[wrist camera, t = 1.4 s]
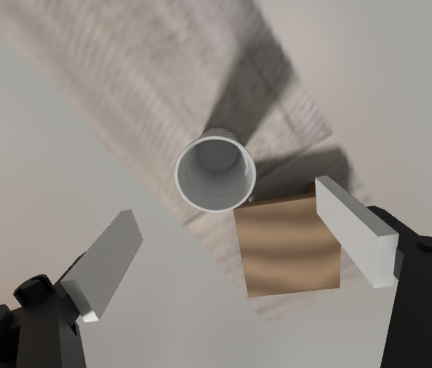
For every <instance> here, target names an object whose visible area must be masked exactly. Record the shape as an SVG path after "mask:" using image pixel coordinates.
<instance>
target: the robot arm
mask: <svg viewBox="0 0 432 368" xmlns="http://www.w3.org/2000/svg"><path fill="white" fill-rule="evenodd" d="M315 184H316V206H317V214H318V215H319V216H320V218H321V219H322V220H323V222H324V223H325V224H326V226H327V227H328V228H329V230H330V231H331V232H332V233H333V235H334V236H335V237H336V239H337V240H338V241H339V243H340V244H341V245H342V247H343V248H344V249H345V251H346V252H347V253H348V254H349V256H350V257H351V258H352V260H353V261H354V262H355V264H356V265H357V266H358V268H359V269H360V270H361V272H362V273H363V274H364V275H365V277H366V278H367V279H368V281H369V282H370V283H371V285H372V286H373V287H374V288H381V287H391V286H393V281H394V276H395V277H396V278H397V279H398V280H399V282H398V286H397V291H396V296H395V300H394V305H393V310H392V315H391V320H390V324H389V329H388V334H387V338H386V343H385V348H384V353H383V358H382V362H381V367H380V368H432V237H429V236H420V235H418V234H417V233H415V232H414V231H413V230H411V229H410V228H409V227H407V226H406V225H405V224H403V223H401V222H400V221H398V219H396V218H395V217H394V216H392V215H391V214H390V213H388V212H387V211H385V210H384V209H381V208H379V207H376V206H369V207H365V206H364V205H363V204H362V203H360V202H359V201H358V200H357V199H356V198H354V197H353V196H352V195H351V194H349V193H348V192H347V191H346V190H344V189H343V188H342V187H341V186H340V185H338V184H337V183H336V182H335V181H333V180H332V179H331V178H330V177H328V176H327V175H326V176H320V177H315ZM142 242H143V238H142V235H141V233H140V230H139V228H138V225H137V223H136V220H135V218H134V215H133V213H132V210H131V209H130V210H125V211H121V212H120V213H119V215H118V216H117V217H116V218H115V219H114V220H113V221H112V223H111V224H110V225H109V226H108V227H107V228H106V229H105V231H104V232H103V233H102V234H101V235H100V236H99V238H98V239H97V240H96V241H95V242H94V243H93V244H92V246H91V247H90V248H89V249H88V251H86V252H85V253H84V254H82V255H81V256H79V257H78V258H77V260H76V261H75V262H74V263H73V265H71V266H70V267H69V268H68V270H67V271H66V272H65V273H64V274H63V275H62V276H61V278H60V279H59V280H58V281H57V282H56V283H55V284H54V285H52V283H51V282H50V280H49V279H48V277H47V275H44V274H42V275H37V276H35V277H32V278H31V279H29V280H27V281H26V282H24V283H22V284H21V285H20V286H19V287H18V288H17V289H16V290H15V292H14V294H13V295H14V296H15V297H16V299H17V300H18V302H19V303H20V304H21V306H22V307H20V308H17V309H15V310H12V311H10V309H9V308H8V307H7V306H6V305H5V304H2V305H0V368H86V363H85V357H84V352H83V347H82V342H81V336H80V331H79V326H78V324H77V323H76V319H77V318H78V316H79V315H81V316H82V318H83V319H84V321H85V322H92V321H99V320H100V318H101V316H102V314H103V312H104V311H105V309H106V307H107V305H108V303H109V302H110V300H111V298H112V296H113V294H114V292H115V291H116V289H117V287H118V285H119V283H120V282H121V280H122V278H123V276H124V274H125V272H126V271H127V269H128V267H129V265H130V263H131V262H132V260H133V258H134V256H135V254H136V252H137V251H138V249H139V247H140V245H141V243H142Z"/></svg>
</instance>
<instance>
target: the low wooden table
mask: <svg viewBox="0 0 432 368" xmlns="http://www.w3.org/2000/svg"><path fill="white" fill-rule="evenodd" d="M307 191H308V192H309V193H306V194H299V195H292V196H286V197H279V198H272V199H265V200H258V201H251V202H249V199H248V198H247V199H246V200H245V201H244V202H243V203H242V204H241V205H239V206H238V207H236V208H234V209H233V210H234V216H235V222H236V227H237V233H238V239H239V245H240V251H241V257H242V263H243V268H244V274H245V280H246V286H247V292H248V297H258V296H267V295H277V294H286V293H295V292H305V291H314V290H324V289H333V288H340V252H341V244H340V243H339V241H338V240H337V239H336V237H335V236H334V235H333V233H332V232H331V231H330V230H329V228H328V227H327V226H326V224H325V223H324V222H323V220H322V219H321V218H320V216H319V215H318V214H317V206H316V184H315V183H310V184H309V185H308V186H307Z"/></svg>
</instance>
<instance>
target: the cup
mask: <svg viewBox="0 0 432 368" xmlns="http://www.w3.org/2000/svg"><path fill="white" fill-rule="evenodd" d="M175 181H176V185H177V188H178V190H179V192H180V193H181V195H182V196H183V198H184V199H185V200H186V201H187V202H188V203H190V204H191V205H192V206H194V207H196V208H198V209H200V210H203V211H207V212H215V213H217V212H225V211H229V210H232V209H234V208H236V207H238V206H239V205H241V204H242V203H243V202H244V201H245V200H246V199H247V198H248V197H249V195H250V194H251V192H252V190H253V188H254V185H255V181H256V168H255V164H254V161H253V159H252V157H251V155H250V154H249V152H248V151H247V150H246V149H245V148H244V147H243V146H242V145H241V144H240V143H239V142H238V140H237V138H236V137H235V135H234V134H233V133H232V132H230V131H229V130H227V129H224V128H212V129H209V130H207V131H206V132H204V133H203V134H202V135H201V136H200V137H199V138H198V139H196V140H195V141H193V142H192V143H190V144H189V145H188V146H187V147H186V148H185V149H184V150H183V151H182V152H181V154H180V156H179V158H178V160H177V162H176V166H175Z"/></svg>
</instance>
